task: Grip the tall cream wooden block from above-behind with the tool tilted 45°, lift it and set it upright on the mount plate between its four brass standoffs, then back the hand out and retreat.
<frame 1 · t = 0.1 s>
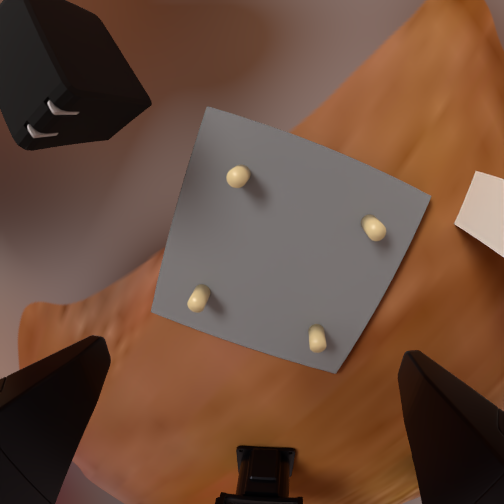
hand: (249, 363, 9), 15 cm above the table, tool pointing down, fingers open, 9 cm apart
electronic device: (105, 73, 20), on the table
cream block: (484, 209, 20), on the table
mount plate: (282, 253, 23), on the table
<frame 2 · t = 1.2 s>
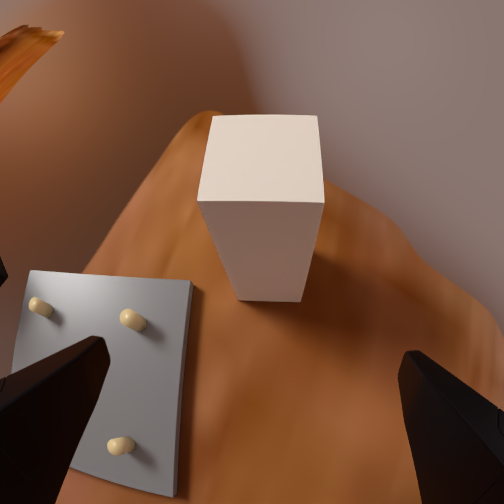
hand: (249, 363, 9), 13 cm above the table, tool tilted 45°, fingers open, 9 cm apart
cream block: (270, 271, 24), on the table
mount plate: (87, 374, 21), on the table
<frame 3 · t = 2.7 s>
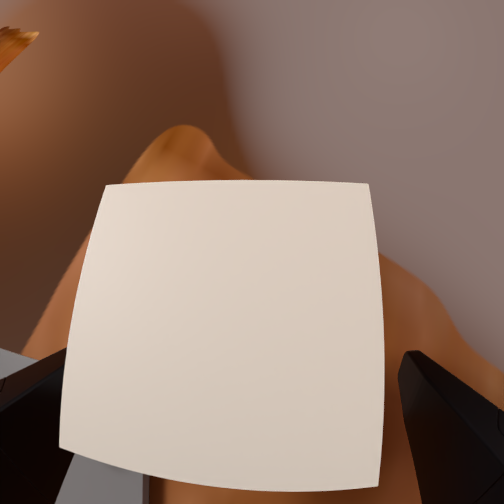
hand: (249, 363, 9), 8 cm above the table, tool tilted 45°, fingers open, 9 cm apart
cream block: (260, 373, 16), on the table
mount plate: (40, 473, 13), on the table
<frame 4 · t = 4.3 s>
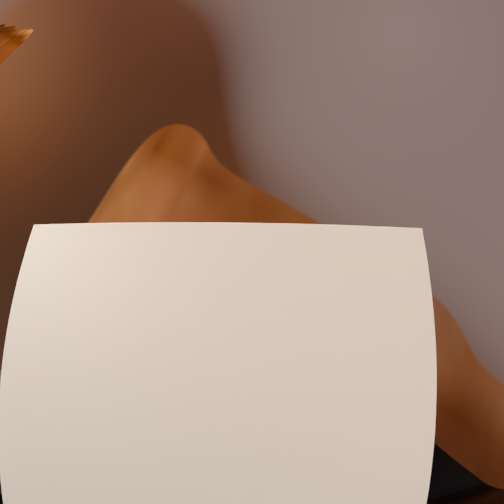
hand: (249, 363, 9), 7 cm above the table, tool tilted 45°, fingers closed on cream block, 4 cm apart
cream block: (258, 402, 14), on the table, touching gripper
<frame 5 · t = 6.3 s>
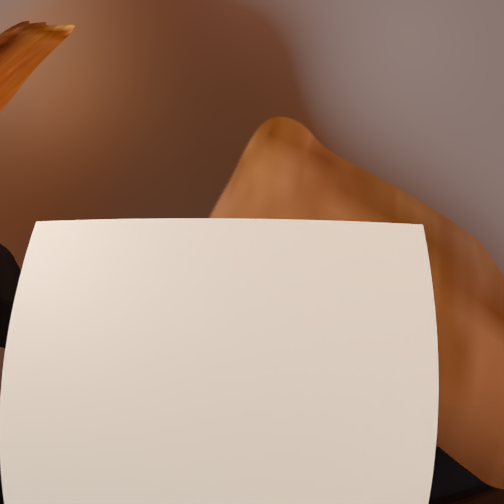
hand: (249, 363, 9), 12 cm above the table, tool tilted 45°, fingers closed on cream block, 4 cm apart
electronic device: (16, 299, 23), on the table
cream block: (259, 401, 14), point 6 cm above the table, touching gripper
when the fingers open (9 cm above the table, at t = 8.4 s): cream block drops 1 cm, resting on mount plate.
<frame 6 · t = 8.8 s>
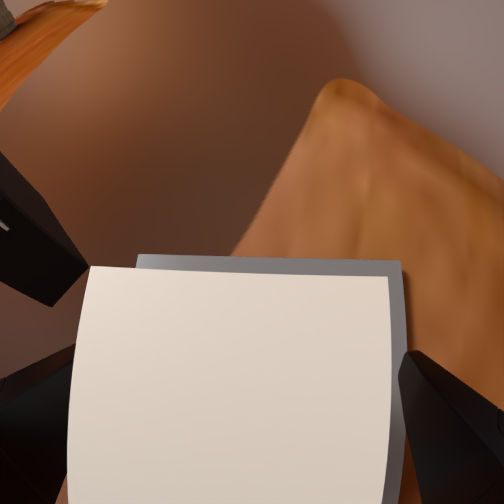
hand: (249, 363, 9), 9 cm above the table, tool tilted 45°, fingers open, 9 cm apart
electronic device: (48, 249, 22), on the table
cream block: (261, 400, 15), point 1 cm above the table, touching mount plate
mount plate: (261, 399, 16), on the table
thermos: (5, 34, 54), on the table
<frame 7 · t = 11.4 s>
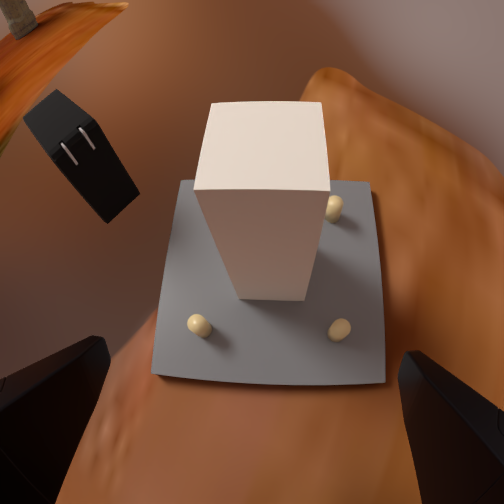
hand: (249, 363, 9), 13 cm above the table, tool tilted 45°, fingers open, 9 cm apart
electronic device: (102, 186, 29), on the table
cream block: (272, 269, 23), point 1 cm above the table, touching mount plate
mount plate: (272, 274, 24), on the table
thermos: (26, 32, 62), on the table
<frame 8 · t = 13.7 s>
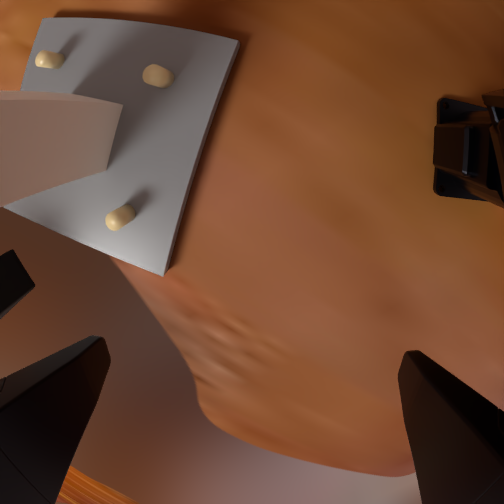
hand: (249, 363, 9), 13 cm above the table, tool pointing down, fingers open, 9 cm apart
electronic device: (8, 285, 25), on the table
cream block: (87, 130, 18), point 1 cm above the table, touching mount plate
mount plate: (95, 130, 19), on the table
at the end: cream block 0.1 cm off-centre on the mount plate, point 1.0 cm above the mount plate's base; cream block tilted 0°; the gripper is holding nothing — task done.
